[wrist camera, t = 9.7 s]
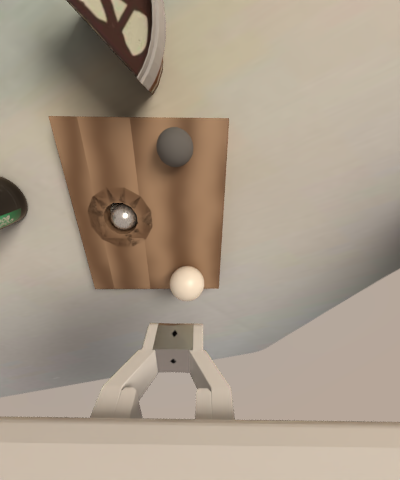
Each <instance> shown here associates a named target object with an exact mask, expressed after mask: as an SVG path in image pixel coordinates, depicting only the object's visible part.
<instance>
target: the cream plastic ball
mask: <svg viewBox="0 0 400 480" xmlns="http://www.w3.org/2000/svg"><path fill="white" fill-rule="evenodd" d="M203 288H204V278H203V276H202V274H201V273H200V271H199V270H197V269H196V268H194V267H191V266H183V267H180V268H179V269H177V270H176V271H175V272H174V273H173V274H172V276H171V279H170V289H171V292H172V293H173V295H174V296H175V297H176V298H178V299H179V300H182V301H192V300H194V299H196V298H197V297H199V296H200V294H201V293H202V291H203Z"/></svg>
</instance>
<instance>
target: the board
mask: <svg viewBox="0 0 400 480" xmlns="http://www.w3.org/2000/svg"><path fill="white" fill-rule="evenodd" d="M49 120H50V123H51V127H52V131H53V135H54V138H55V142H56V146H57V149H58V153H59V157H60V160H61V164H62V168H63V172H64V175H65V179H66V183H67V186H68V190H69V194H70V198H71V201H72V205H73V209H74V212H75V216H76V220H77V223H78V227H79V231H80V235H81V238H82V242H83V246H84V249H85V253H86V257H87V261H88V264H89V268H90V272H91V275H92V279H93V283H94V286H95V289H170V279H171V276H172V274H173V273H174V272H175V271H176V270H177V269H179V268H180V267H183V266H191V267H194V268H196V269H197V270H199V271H200V273H201V274H202V276H203V278H204V288H203V289H207V288H219V275H220V258H221V242H222V226H223V210H224V193H225V177H226V161H227V145H228V128H229V118H151V117H70V116H49ZM170 127H178V128H181V129H183V130H185V131H186V132H187V133H188V134H189V136H190V137H191V139H192V142H193V154H192V157H191V159H190V160H189V161H188V162H187V163H186V164H185V165H183V166H181V167H171V166H168V165H166V164H165V163H164V162H163V161H162V160H161V159H160V157H159V155H158V153H157V148H156V145H157V139H158V137H159V135H160V134H161V133H162V132H163V131H164V130H165V129H167V128H170ZM112 203H124V204H126V205H128V206H130V207H131V208H132V209H133V211H134V212H135V213H136V215H137V221H138V224H137V225H135V226H134V227H132V228H130V229H126V230H123V229H119V228H117V227H116V226H114V224H113V223H112V221H111V211H110V208H111V206H112Z"/></svg>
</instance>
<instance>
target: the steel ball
mask: <svg viewBox="0 0 400 480" xmlns="http://www.w3.org/2000/svg"><path fill="white" fill-rule="evenodd" d="M111 221H112V223H113V224H114V226H116V227H117V228H119V229H123V230H126V229H130V228H132V227H133V226H134V225H135V224H136V222H137V215H136V213H135V212H134V211H133V209H132V208H131V207H130V206H128V205H124V204H123V205H118V206H116V207H115V208H114V209H113V210H112V212H111Z"/></svg>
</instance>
